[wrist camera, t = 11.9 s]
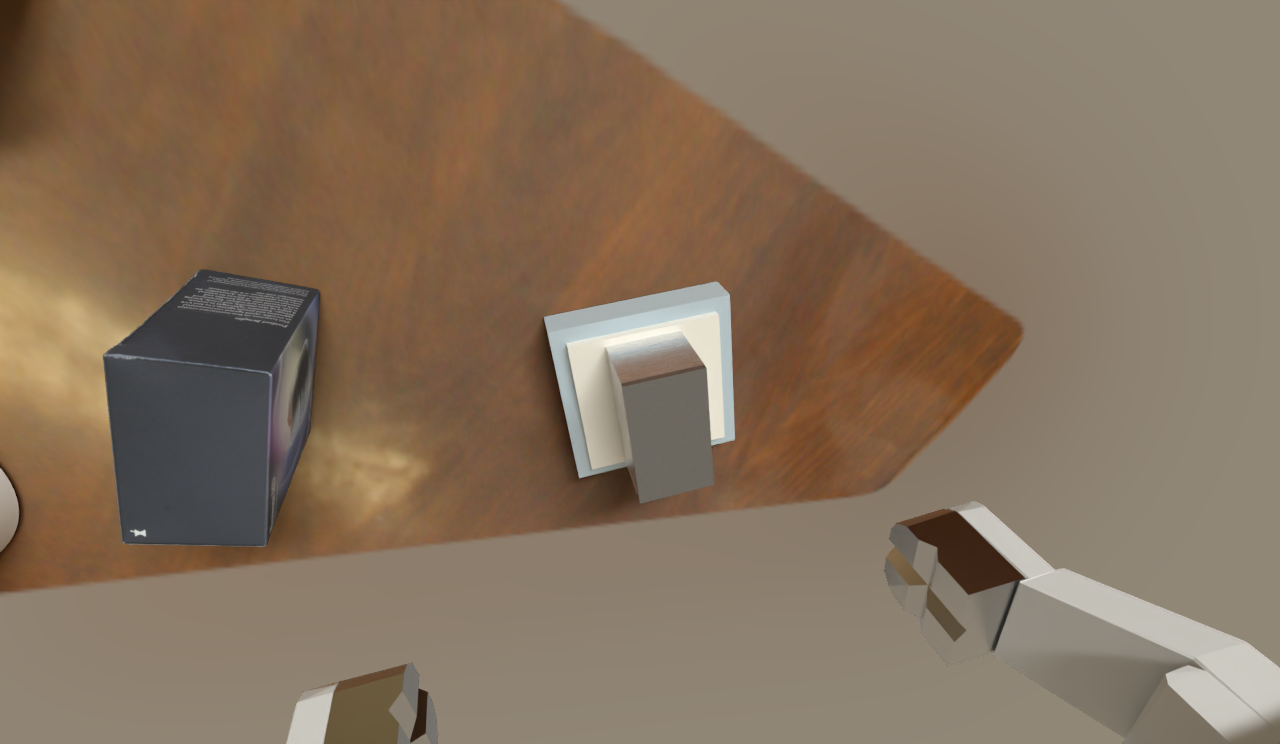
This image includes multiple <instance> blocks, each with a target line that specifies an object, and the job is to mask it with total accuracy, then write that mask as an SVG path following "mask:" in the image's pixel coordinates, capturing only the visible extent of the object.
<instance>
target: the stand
mask: <svg viewBox="0 0 1280 744" xmlns="http://www.w3.org/2000/svg"><path fill="white" fill-rule="evenodd" d="M544 321H545V325H546V330H547V335H548V339H549V344H550V348H551V353H552V357H553V362H554V366H555V371H556V376H557V380H558V385H559V389H560V394H561V398H562V403H563V408H564V412H565V417H566V421H567V426H568V430H569V435H570V439H571V444H572V449H573V453H574V458H575V462H576V466H577V471H578V475H579V478H582V477H586V476H590V475H594V474H599V473H603V472H607V471H611V470H615V469H619V468H623V467H627V465H626V462H625V459H624V457H623V450H622V444H621V438H620V432H619V426H618V420H617V414H616V408H615V401H614V395H613V389H612V383H611V377H610V371H609V365H608V358H607V352H606V347H607V346H612V345H617V344H621V343H626V342H631V341H635V340H640V339H644V338H649V337H654V336H658V335H663V334H668V333H672V332H677V331H682V333H683V334H684V336H685V337H686V339H687V340H688V342H689V343H690V344H691V346H692V347H693V349H694V350H695V352H696V353H697V355H698V356H699V357H700V359H701V360H702V362H703V363H704V365H705V366H706V368H707V382H708V398H709V414H710V431H711V446H712V445H716V444H720V443H724V442H728V441H732V440H735V431H734V402H733V373H732V344H731V314H730V294H729V293H728V292H727V291H726V290H725V289H724V288H723V287H722V286H721V285H720V284H719V283H718V282H712V283H707V284H702V285H697V286H692V287H688V288H683V289H678V290H673V291H668V292H663V293H658V294H653V295H649V296H644V297H639V298H634V299H629V300H624V301H619V302H614V303H610V304H605V305H600V306H595V307H590V308H585V309H580V310H575V311H570V312H566V313H561V314H556V315H551V316H546V317H544Z"/></svg>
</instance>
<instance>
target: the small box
mask: <svg viewBox="0 0 1280 744" xmlns="http://www.w3.org/2000/svg"><path fill="white" fill-rule="evenodd" d="M319 300H320V291H319V290H317V289H313V288H307V287H302V286H297V285H292V284H285V283H280V282H274V281H268V280H263V279H257V278H251V277H245V276H239V275H233V274H228V273H222V272H216V271H210V270H199V271H197V272H196V273H195V274H194V276H193V277H192V278H191V279H189V281H188V282H187V283H186V284H185V285H184V286H183V287H182V288H181V289H179V290H178V291H177V292H176V293H175V295H173V296H172V297H171V298H170V299H169V300H167V301H166V302H165V303H164V304H163V305H162V306H161V307H160V308H159V309H158V310H157V311H155V312H154V313H153V314H152V315H151V316H149V318H148V319H147V320H146V321H144V322H143V324H142V325H141V326H139V327H137V329H136V330H134V331H133V332H132V333H131V334H130V335H129V336H128V337H126V338H125V339H123V340H122V341H121V342H120V343H118V344H117V345H116V346H114V347H113V348H111V349H110V350H108V351H107V352H106V353H105V354H104V355H103V360H104V371H105V382H106V392H107V402H108V411H109V422H110V432H111V442H112V452H113V462H114V472H115V480H116V491H117V501H118V510H119V521H120V528H121V539H122V542H123V543H125V544H145V545H150V544H152V545H197V546H248V547H264V546H266V545H267V543H268V540H269V537H270V534H271V531H272V529H273V526H274V524H275V521H276V519H277V516H278V513H279V511H280V508H281V506H282V503H283V500H284V498H285V495H286V493H287V490H288V487H289V485H290V482H291V480H292V477H293V474H294V472H295V469H296V467H297V464H298V461H299V459H300V456H301V454H302V451H303V449H304V446H305V444H306V441H307V438H308V436H309V433H310V428H311V413H312V399H313V386H314V373H315V359H316V345H317V330H318V317H319Z"/></svg>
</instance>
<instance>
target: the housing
mask: <svg viewBox="0 0 1280 744" xmlns="http://www.w3.org/2000/svg"><path fill="white" fill-rule="evenodd" d="M606 352H607V358H608V365H609V371H610V377H611V383H612V389H613V395H614V401H615V408H616V414H617V420H618V426H619V432H620V438H621V444H622V450H623V457H624V459H625V462H626V465H627V468H628V471H629V474H630V476H631V479H632V482H633V485H634V488H635V491H636V494H637V496H638V499H639V502H640V504H641V503H645V502H649V501H653V500H657V499H660V498H664V497H668V496H672V495H676V494H680V493H684V492H688V491H691V490H695V489H699V488H703V487H707V486H711V485H714V479H713V463H712V447H711V431H710V414H709V398H708V382H707V368H706V366H705V365H704V363H703V362H702V360H701V359H700V357H699V356H698V355H697V353H696V352H695V350H694V349H693V347H692V346H691V344H690V343H689V342H688V340H687V339H686V337H685V336H684V334H683V333H682V331H677V332H672V333H668V334H663V335H658V336H654V337H649V338H644V339H640V340H635V341H631V342H626V343H621V344H617V345H612V346H607V347H606Z"/></svg>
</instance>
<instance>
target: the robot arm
mask: <svg viewBox="0 0 1280 744" xmlns="http://www.w3.org/2000/svg"><path fill="white" fill-rule="evenodd" d="M18 519H19V507H18V501H17V497H16V494H15V491H14V489H13V487H12V485H11V483H10V481H9V479H8V478H7V476H6V475H5V473H4V472H3V471H2V469H1V468H0V552H1V551H2V550H3V549H4V548H5V547H6V546H7V544H8V543H9V542H10V540H11V539H12V537H13V535H14V533H15V531H16V528H17V525H18ZM889 540H890V541H891V542H892V543H893V544H894V546H895V547H894V548H893V549H892V550H891V552H890V553H889V554H888V555H887V557H886V562H885V570H884V571H885V575H886V578H887V582H888V586H889V588H890V590H891V592H892V593H893V595H894V597H895V599H896V600H897V601H898V603H899V604H900V605H901V606H902V608H903V610H905V611H907V612H909V613H911V614H913V615H914V616H916V617H918V618H920V625H921V633H922V634H923V636H924V637H925V638H926V640H927V641H928V642H929V644H930V645H931V646H932V648H933V649H934V650H935V651H936V653H937V654H938V655H939V657H940V658H941V659H942V661H943V662H944V663H945V664H946V666H947V667H948V666H952V665H955V664H958V663H962V662H965V661H969V660H972V659H975V658H979V657H981V656H985V655H988V654H992V653H994V655H993V656H994V657H995V658H997V659H999V660H1000V661H1002V662H1004V663H1005V664H1007V665H1008V666H1010V667H1011V668H1013V669H1015V670H1016V671H1018V672H1019V673H1021V674H1023V675H1024V676H1026V677H1027V678H1029V679H1031V680H1032V681H1034V682H1035V683H1037V684H1039V685H1040V686H1042V687H1043V688H1045V689H1047V690H1048V691H1050V692H1051V693H1053V694H1055V695H1056V696H1058V697H1059V698H1061V699H1063V700H1064V701H1066V702H1068V703H1069V704H1071V705H1072V706H1074V707H1075V708H1077V709H1079V710H1080V711H1082V712H1083V713H1085V714H1087V715H1088V716H1090V717H1091V718H1093V719H1095V720H1096V721H1098V722H1100V723H1101V724H1103V725H1104V726H1106V727H1107V728H1109V729H1111V730H1112V731H1114V732H1116V733H1117V734H1119V735H1120V736H1122V737H1123V738H1125V739H1124V741H1123V742H1122V744H1280V668H1279V667H1278V666H1276V665H1275V664H1274V663H1273V662H1271V661H1270V660H1269V659H1268V658H1266V657H1265V656H1264V655H1262V654H1261V653H1260V652H1258V651H1257V650H1256V649H1255V648H1253V647H1252V646H1251V645H1250V644H1248V643H1247V642H1245V641H1243V640H1240V639H1238V638H1235V637H1233V636H1230V635H1228V634H1225V633H1223V632H1220V631H1218V630H1215V629H1213V628H1210V627H1208V626H1206V625H1203V624H1201V623H1198V622H1196V621H1193V620H1191V619H1188V618H1186V617H1183V616H1181V615H1178V614H1176V613H1173V612H1171V611H1168V610H1166V609H1163V608H1161V607H1158V606H1156V605H1154V604H1151V603H1149V602H1146V601H1144V600H1141V599H1139V598H1136V597H1134V596H1131V595H1129V594H1126V593H1124V592H1121V591H1119V590H1116V589H1114V588H1111V587H1109V586H1106V585H1104V584H1101V583H1099V582H1097V581H1094V580H1092V579H1089V578H1087V577H1084V576H1082V575H1079V574H1076V573H1074V572H1072V571H1069V570H1067V569H1064V568H1060V569H1057V570H1054V569H1053V568H1052V567H1051V566H1050V565H1049V564H1048V563H1047V562H1045V561H1044V560H1043V559H1042V558H1041V557H1040V556H1039V555H1038V554H1037V553H1036V552H1034V551H1033V550H1032V549H1031V548H1030V547H1029V546H1028V545H1027V544H1026V543H1025V542H1023V541H1022V540H1021V539H1020V538H1019V537H1018V536H1017V535H1016V534H1014V533H1013V532H1012V531H1011V530H1010V529H1009V528H1008V527H1007V526H1006V525H1005V524H1003V523H1002V522H1001V521H1000V520H999V519H998V518H997V517H996V516H995V515H993V514H992V513H991V512H990V511H989V510H988V509H987V508H986V507H985V506H983V505H982V504H979V503H977V502H975V501H973V502H968V503H965V504H961V505H958V506H955V507H951V508H948V509H942V510H938V511H935V512H932V513H928V514H925V515H922V516H919V517H915V518H912V519H909V520H905V521H902V522H899V523H896V524H895V525H894V526H893V527H892V528H891V532H890V537H889ZM418 687H419V674H418V672H417V670H416V669H415V667H414V665H413V663H409V664H405V665H401V666H398V667H393V668H390V669H386V670H382V671H378V672H374V673H371V674H367V675H363V676H359V677H355V678H352V679H348V680H344V681H340V682H336V683H332V684H329V685H326V686H322V687H319V688H315V689H311V690H308V691H304V692H303V693H302V695H301V697H300V698H299V700H298V702H297V704H296V705H295V709H294V713H293V716H292V720H291V725H290V728H289V733H288V736H287V741H286V744H438V730H437V721H436V713H435V710H434V706H433V703H432V700H431V698H430V696H429V694H428V692H426V691H424V690H421V689H419V688H418Z"/></svg>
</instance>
